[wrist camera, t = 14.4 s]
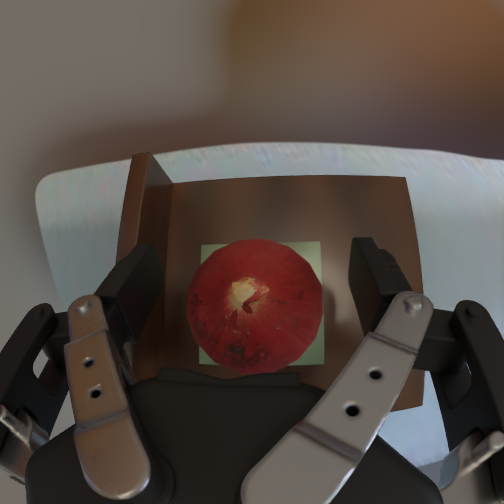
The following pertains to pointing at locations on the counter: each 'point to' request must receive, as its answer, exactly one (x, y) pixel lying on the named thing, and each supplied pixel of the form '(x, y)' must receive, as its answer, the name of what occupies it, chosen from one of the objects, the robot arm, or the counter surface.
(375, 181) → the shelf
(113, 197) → the counter surface
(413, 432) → the counter surface
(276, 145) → the counter surface
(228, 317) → the red pomegranate
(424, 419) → the counter surface
